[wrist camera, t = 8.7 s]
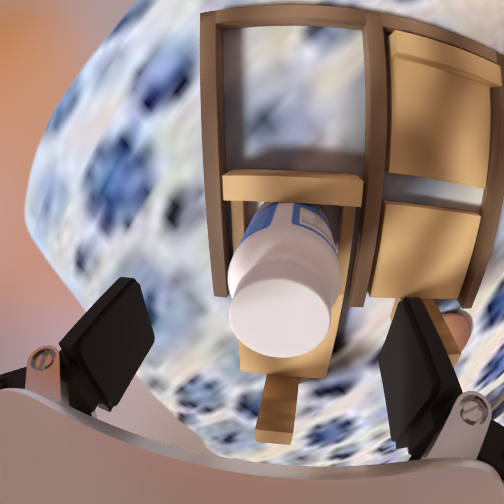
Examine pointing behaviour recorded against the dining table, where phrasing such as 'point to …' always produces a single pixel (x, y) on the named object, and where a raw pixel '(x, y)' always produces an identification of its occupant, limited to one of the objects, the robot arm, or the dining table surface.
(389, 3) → the dining table surface
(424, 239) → the tan wooden block
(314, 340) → the pill bottle
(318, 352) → the slat bottle lane
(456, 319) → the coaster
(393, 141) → the lane rails
